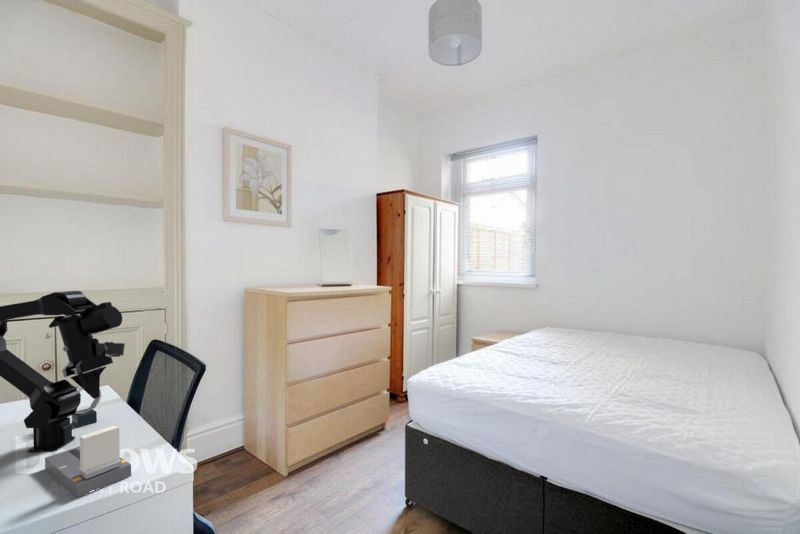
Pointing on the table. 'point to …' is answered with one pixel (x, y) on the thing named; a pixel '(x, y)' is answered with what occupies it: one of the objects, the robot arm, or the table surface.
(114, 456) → the fader
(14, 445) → the table surface
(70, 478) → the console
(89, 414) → the watch
